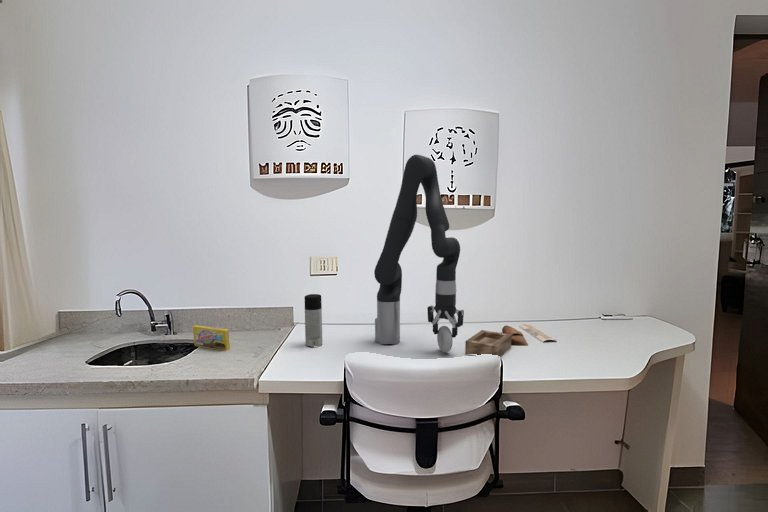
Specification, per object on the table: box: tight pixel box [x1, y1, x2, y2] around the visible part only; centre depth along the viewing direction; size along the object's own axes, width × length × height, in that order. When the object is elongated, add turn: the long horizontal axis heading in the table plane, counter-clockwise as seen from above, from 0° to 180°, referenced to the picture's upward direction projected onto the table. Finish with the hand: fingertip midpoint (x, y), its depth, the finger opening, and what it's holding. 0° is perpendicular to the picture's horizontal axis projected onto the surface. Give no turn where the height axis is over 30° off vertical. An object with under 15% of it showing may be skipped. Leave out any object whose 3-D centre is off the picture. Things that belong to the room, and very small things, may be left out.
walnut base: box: [464, 329, 512, 358], centre depth 170 cm, size 12×17×5 cm
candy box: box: [192, 324, 231, 351], centre depth 174 cm, size 16×2×8 cm, turn 68°
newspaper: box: [518, 323, 558, 343], centre depth 192 cm, size 24×7×2 cm, turn 6°
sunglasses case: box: [501, 325, 529, 347], centre depth 185 cm, size 18×7×7 cm
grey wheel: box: [436, 325, 454, 354], centre depth 167 cm, size 10×4×10 cm, turn 13°
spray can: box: [304, 293, 323, 348], centre depth 177 cm, size 7×7×20 cm
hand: (444, 335), depth 167 cm, fingers closed on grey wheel, 7 cm apart
